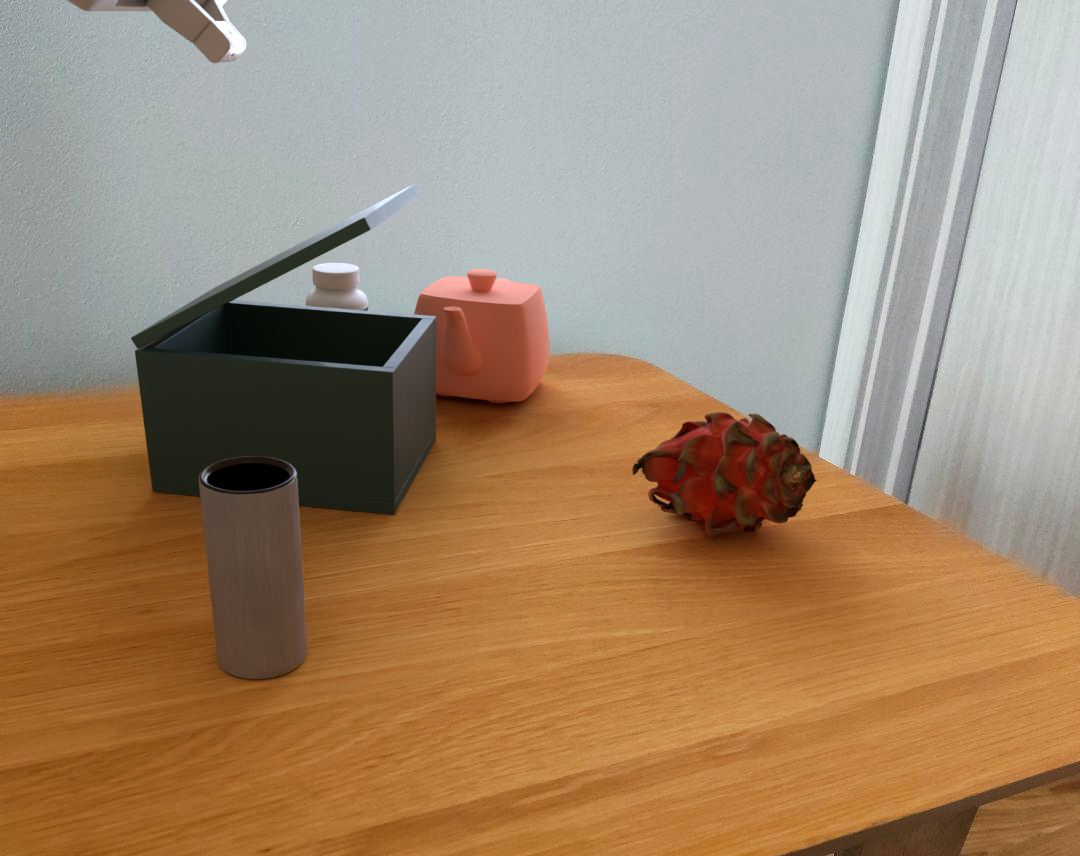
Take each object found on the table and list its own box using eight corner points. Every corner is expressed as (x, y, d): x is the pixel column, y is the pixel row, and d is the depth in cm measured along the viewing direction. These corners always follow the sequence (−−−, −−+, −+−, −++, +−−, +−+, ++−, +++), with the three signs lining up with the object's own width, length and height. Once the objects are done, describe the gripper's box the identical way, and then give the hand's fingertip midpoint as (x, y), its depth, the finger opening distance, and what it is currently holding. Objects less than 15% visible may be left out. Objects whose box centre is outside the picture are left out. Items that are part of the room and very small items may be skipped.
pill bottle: (299, 381, 94) (293, 270, 90) (324, 363, 99) (319, 258, 94) (356, 388, 93) (352, 277, 89) (378, 370, 98) (376, 264, 93)
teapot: (561, 369, 101) (567, 258, 96) (513, 433, 85) (518, 304, 80) (446, 355, 103) (447, 246, 98) (378, 415, 87) (376, 289, 83)
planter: (200, 653, 55) (180, 469, 50) (276, 623, 58) (264, 448, 53) (247, 691, 52) (230, 501, 47) (324, 658, 55) (315, 476, 50)
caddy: (435, 440, 83) (436, 316, 78) (394, 514, 71) (392, 372, 66) (228, 422, 84) (217, 298, 80) (152, 492, 72) (134, 350, 68)
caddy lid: (420, 194, 75) (415, 183, 74) (370, 229, 62) (364, 217, 62) (219, 297, 80) (213, 287, 79) (137, 349, 67) (129, 338, 67)
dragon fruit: (815, 565, 70) (637, 561, 74) (818, 458, 74) (649, 458, 78) (815, 500, 63) (617, 498, 66) (818, 385, 67) (632, 388, 70)
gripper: (108, -82, 72) (257, 82, 76) (-79, -114, 54) (129, 104, 58) (164, -156, 70) (315, 16, 74) (-12, -216, 52) (200, 18, 56)
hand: (232, 55), depth 66 cm, fingers closed
